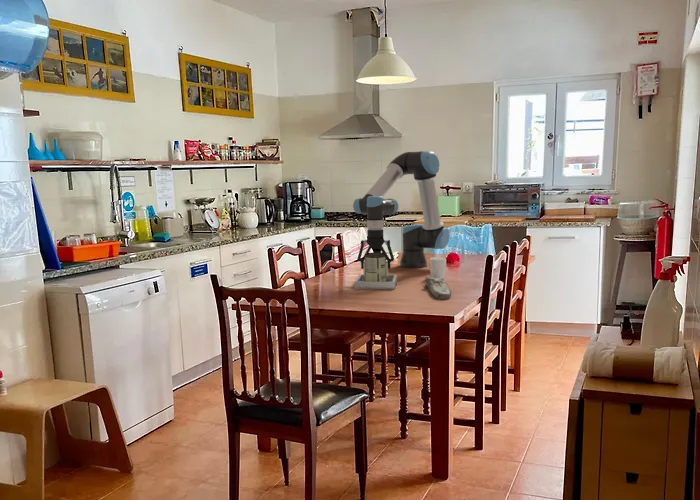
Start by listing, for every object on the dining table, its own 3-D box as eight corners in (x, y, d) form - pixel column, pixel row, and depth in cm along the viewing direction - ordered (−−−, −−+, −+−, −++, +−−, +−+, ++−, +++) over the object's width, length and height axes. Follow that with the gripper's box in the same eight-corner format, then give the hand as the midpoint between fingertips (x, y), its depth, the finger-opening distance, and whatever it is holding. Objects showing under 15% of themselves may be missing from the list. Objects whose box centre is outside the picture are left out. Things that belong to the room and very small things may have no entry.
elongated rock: (431, 303, 252) (455, 304, 252) (432, 291, 251) (456, 292, 251) (422, 282, 286) (443, 283, 286) (422, 271, 285) (443, 272, 285)
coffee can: (369, 280, 291) (369, 251, 288) (389, 281, 287) (389, 252, 284) (361, 284, 281) (361, 255, 279) (382, 285, 277) (382, 255, 275)
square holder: (359, 281, 294) (359, 274, 293) (396, 281, 291) (396, 274, 291) (354, 289, 276) (354, 281, 275) (394, 289, 273) (394, 282, 273)
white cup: (445, 280, 293) (445, 259, 291) (429, 279, 294) (429, 259, 293) (446, 277, 300) (446, 257, 299) (430, 276, 302) (430, 257, 301)
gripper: (350, 230, 278) (351, 277, 281) (399, 229, 275) (399, 277, 278) (352, 228, 285) (353, 274, 288) (399, 228, 282) (400, 274, 285)
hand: (375, 275), depth 283 cm, fingers closed on coffee can, 10 cm apart
